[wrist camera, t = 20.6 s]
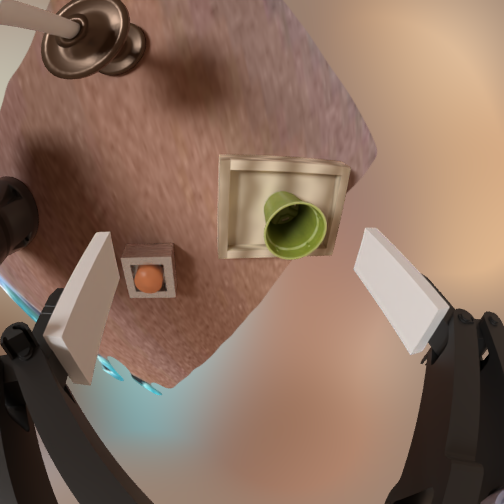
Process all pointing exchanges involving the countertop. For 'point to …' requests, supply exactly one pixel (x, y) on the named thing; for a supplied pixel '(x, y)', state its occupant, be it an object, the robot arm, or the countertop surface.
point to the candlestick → (81, 36)
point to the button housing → (150, 256)
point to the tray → (262, 187)
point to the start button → (149, 278)
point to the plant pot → (292, 226)
